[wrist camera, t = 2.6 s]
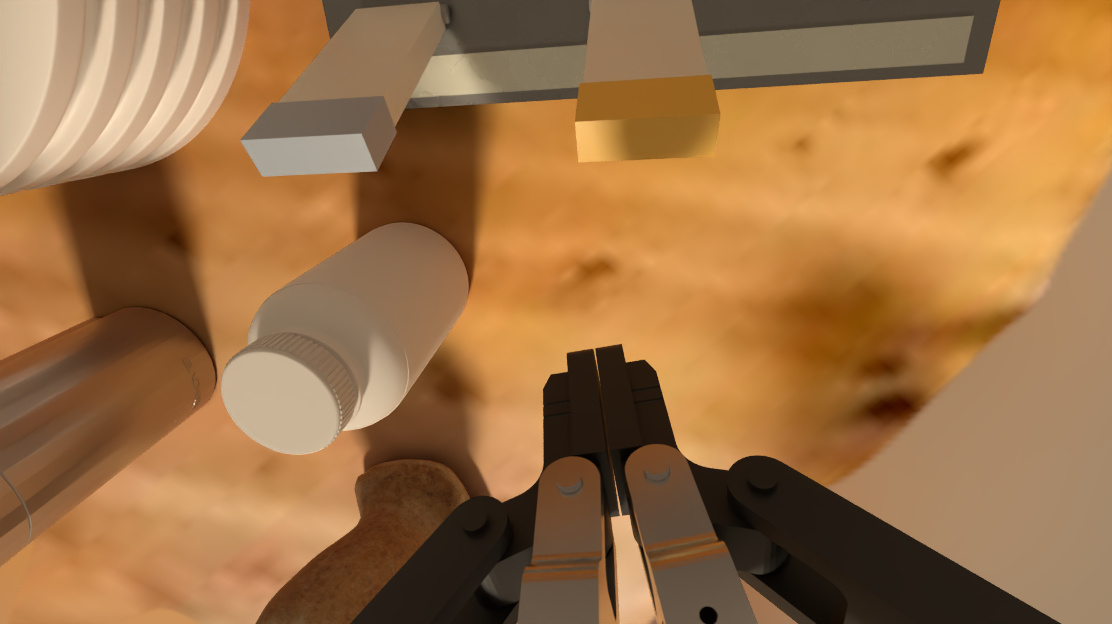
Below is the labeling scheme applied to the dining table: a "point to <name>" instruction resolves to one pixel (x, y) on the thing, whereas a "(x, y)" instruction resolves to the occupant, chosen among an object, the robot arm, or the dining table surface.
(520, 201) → the dining table surface
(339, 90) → the lever slate
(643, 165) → the dining table surface
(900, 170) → the dining table surface
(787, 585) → the robot arm
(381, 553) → the brown boot
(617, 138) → the lever amber
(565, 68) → the switch strip
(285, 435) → the pill bottle
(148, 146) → the plate stack
